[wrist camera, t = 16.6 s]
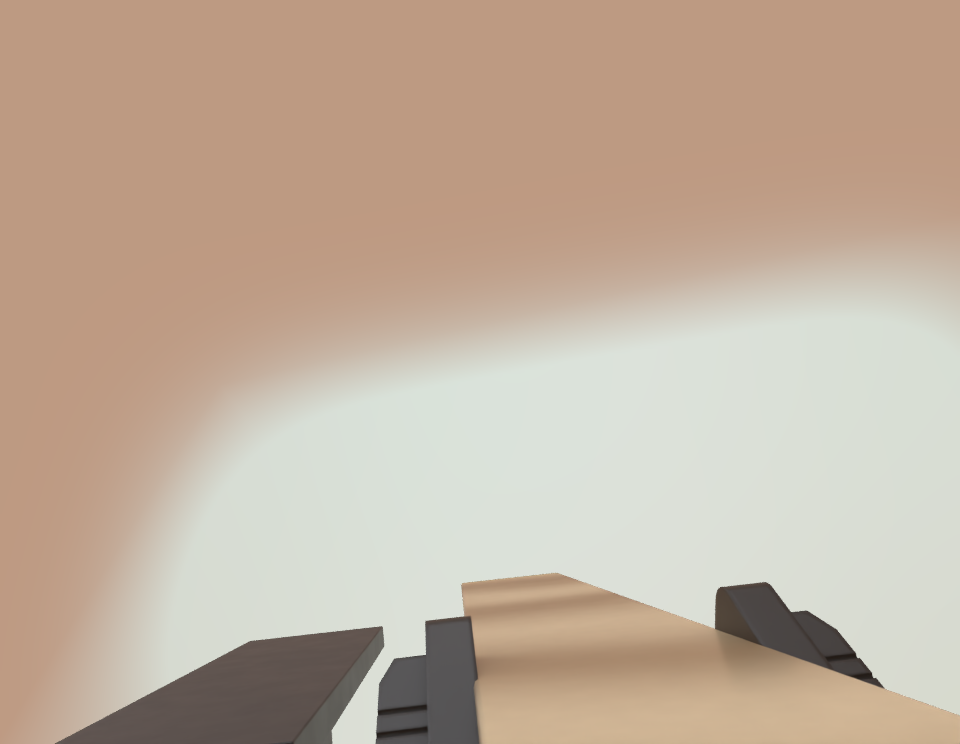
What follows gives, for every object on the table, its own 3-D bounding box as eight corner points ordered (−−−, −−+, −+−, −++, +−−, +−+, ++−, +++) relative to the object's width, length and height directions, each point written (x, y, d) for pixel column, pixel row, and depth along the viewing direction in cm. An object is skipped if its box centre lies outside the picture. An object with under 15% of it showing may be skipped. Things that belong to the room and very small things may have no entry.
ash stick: (1231, 1313, 5) (1098, 759, 5) (548, 1427, 4) (491, 835, 5) (567, 648, 32) (558, 572, 33) (468, 660, 32) (461, 582, 32)
